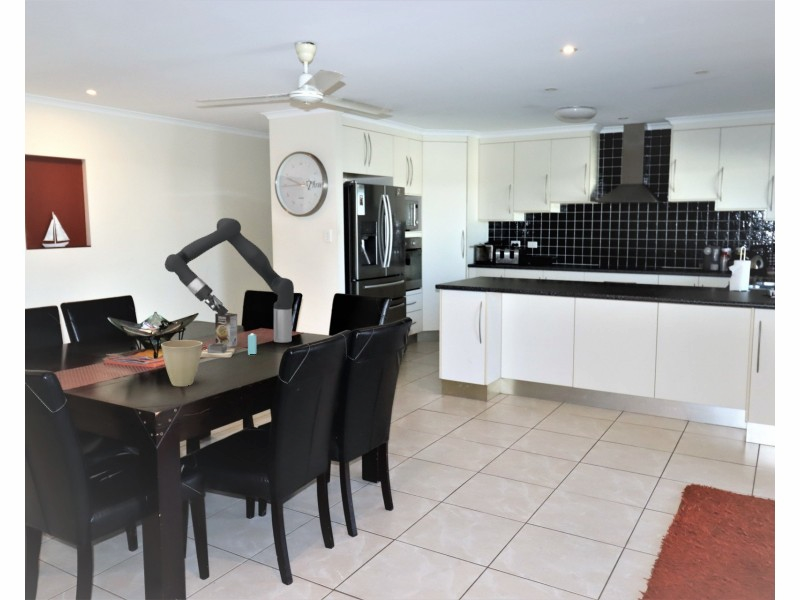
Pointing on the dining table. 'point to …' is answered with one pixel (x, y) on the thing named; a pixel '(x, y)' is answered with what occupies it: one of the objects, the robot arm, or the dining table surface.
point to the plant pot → (182, 360)
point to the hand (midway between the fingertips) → (225, 314)
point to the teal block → (252, 344)
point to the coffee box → (226, 329)
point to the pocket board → (218, 350)
